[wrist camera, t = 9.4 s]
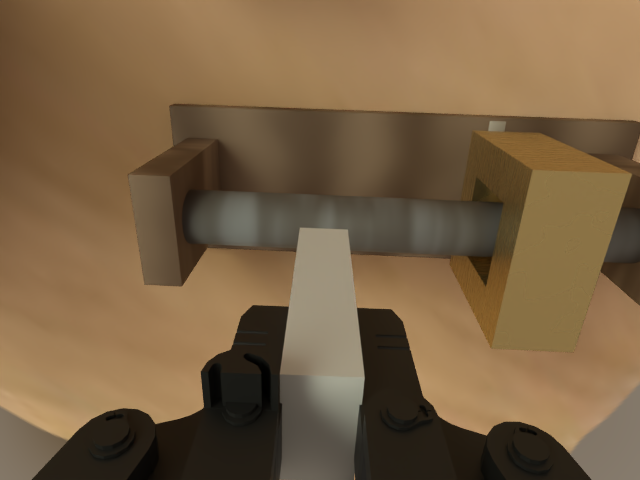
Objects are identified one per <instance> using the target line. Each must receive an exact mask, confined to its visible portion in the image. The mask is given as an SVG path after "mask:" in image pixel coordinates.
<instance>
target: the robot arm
mask: <svg viewBox="0 0 640 480" xmlns="http://www.w3.org/2000/svg"><path fill="white" fill-rule="evenodd" d="M201 379H202V390H203V400H204V408H203V409H202V410H200V411H198V412H196V413H194V414H192V415H190V416H187V417H184V418H181V419H177V420H172V421H168V422H163V423H159V424H155V423H154V422H153V420H152V419H151V417H150V416H149V415H148V414H146V413H144V412H142V411H140V410H138V409H125V408H123V409H118V410H113V411H108V412H106V413H104V414H102V415H99V416H97V417H95V418H93V419H91V420H90V421H89V422H88V423H86V424H85V425H84V426H83V427H81V428H80V429H79V430H78V431H77V432H76V433H75V434H74V435H73V436H72V437H71V438H70V439H69V441H68V442H67V443H66V444H65V445H64V446H63V447H62V448H61V449H60V450H59V451H58V452H57V453H56V455H55V456H54V457H53V458H52V459H51V460H50V461H49V462H48V463H47V464H46V465H45V466H44V467H43V468H42V469H41V470H40V471H39V472H38V474H37V475H36V476H35V477H34V478H33V479H32V480H354V474H355V480H591V479H590V477H589V476H588V475H587V474H586V473H585V472H584V471H583V469H582V468H581V467H580V466H579V465H578V463H577V462H576V461H575V460H574V459H573V458H572V456H571V455H570V454H569V453H568V452H567V451H566V449H565V448H564V447H563V446H562V445H561V444H560V443H559V442H557V441H556V440H555V439H554V438H553V437H552V436H551V435H549V434H548V433H546V432H544V431H542V430H540V429H539V428H537V427H535V426H532V425H528V424H525V423H521V422H503V423H501V424H498V425H496V426H494V427H493V428H492V429H491V431H490V432H489V433H488V435H487V436H486V435H482V434H479V433H476V432H473V431H469V430H466V429H463V428H460V427H457V426H455V425H452V424H450V423H448V422H447V421H445V420H443V419H442V418H440V417H439V416H438V415H437V413H436V411H435V409H434V407H433V406H432V405H431V404H430V403H429V402H428V401H427V400H426V399H425V398H424V397H423V395H422V391H421V388H420V384H419V380H418V376H417V373H416V369H415V365H414V362H413V358H412V354H411V351H410V347H409V343H408V339H407V338H406V332H405V328H404V325H403V322H402V320H401V319H400V318H399V317H398V316H397V315H396V314H395V313H394V312H393V311H392V310H391V309H368V308H357V306H356V297H355V288H354V279H353V271H352V262H351V253H350V244H349V236H348V230H346V229H322V228H300V230H299V237H298V245H297V252H296V259H295V267H294V274H293V281H292V289H291V296H290V303H289V307H284V306H259V305H253V306H252V307H251V308H250V309H248V310H247V311H246V312H245V313H244V314H243V315H242V316H241V319H240V322H239V325H238V329H237V333H236V335H235V339H234V342H233V345H232V348H231V350H229V351H226V352H223V353H220V354H218V355H216V356H215V357H214V358H212V359H211V360H209V361H208V362H207V363H206V365H205V366H204V368H203V369H202V371H201Z"/></svg>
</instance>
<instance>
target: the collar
mask: <svg viewBox="0 0 640 480" xmlns="http://www.w3.org/2000/svg"><path fill="white" fill-rule="evenodd" d="M631 176H632V174H631V173H629V172H627V171H625V170H622V169H620V168H618V167H616V166H613V165H611V164H609V163H607V162H604V161H602V160H600V159H598V158H595V157H593V156H591V155H589V154H586V153H584V152H582V151H580V150H577V149H575V148H573V147H571V146H568V145H566V144H564V143H562V142H559V141H557V140H555V139H553V138H550V137H548V136H546V135H544V134H541V133H527V132H500V131H474V130H472V136H471V142H470V148H469V153H468V159H467V165H466V171H465V177H464V183H463V189H462V195H461V201H482V202H503V203H504V204H503V209H502V214H501V219H500V223H499V228H498V233H497V237H496V242H495V247H494V252H493V256H492V257H477V256H455V255H451V260H450V266H451V268H452V270H453V272H454V274H455V276H456V278H457V280H458V282H459V284H460V286H461V289H462V291H463V293H464V295H465V297H466V299H467V301H468V303H469V305H470V307H471V309H472V311H473V313H474V315H475V317H476V319H477V321H478V323H479V325H480V327H481V329H482V331H483V333H484V335H485V337H486V339H487V341H488V343H489V345H490V347H491V348H493V349H513V350H533V351H553V352H573V353H574V350H575V346H576V343H577V340H578V337H579V334H580V331H581V328H582V325H583V322H584V319H585V316H586V313H587V310H588V307H589V304H590V301H591V298H592V295H593V292H594V289H595V286H596V283H597V280H598V276H599V273H600V270H601V267H602V264H603V261H604V258H605V255H606V252H607V249H608V246H609V243H610V240H611V237H612V234H613V231H614V228H615V225H616V222H617V219H618V216H619V213H620V210H621V207H622V203H623V200H624V197H625V194H626V191H627V188H628V185H629V182H630V179H631Z"/></svg>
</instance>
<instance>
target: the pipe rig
mask: <svg viewBox="0 0 640 480" xmlns="http://www.w3.org/2000/svg"><path fill="white" fill-rule="evenodd" d="M169 107H170V116H171V126H172V135H173V145H174V147H172V148H170V149H169V150H167V151H165V152H164V153H162V154H161V155H159V156H157V157H156V158H154V159H152V160H151V161H149V162H148V163H146V164H144V165H143V166H141V167H139V168H138V169H136V170H135V171H133V172H131V173H130V174H128V179H129V186H130V192H131V199H132V205H133V212H134V218H135V225H136V232H137V238H138V245H139V251H140V258H141V264H142V271H143V277H144V284H145V285H163V286H183V284H184V282H185V281H186V279H187V278H188V276H189V275H190V273H191V272H192V270H193V269H194V267H195V266H196V264H197V262H198V261H199V259H200V258H201V256H202V255H203V253H204V252H205V250H206V249H207V248H227V249H249V250H271V251H293V252H297V245H298V237H299V230H300V228H322V229H346V230H348V236H349V244H350V253H351V254H360V255H382V256H404V257H427V258H449V259H451V255H455V256H477V257H492V256H493V252H494V247H495V242H496V237H497V233H498V228H499V223H500V219H501V214H502V209H503V204H504V203H503V202H482V201H461V195H462V189H463V183H464V177H465V171H466V165H467V159H468V153H469V148H470V142H471V136H472V130H474V131H500V132H527V133H541V134H544V135H546V136H548V137H550V138H553V139H555V140H557V141H559V142H562V143H564V144H566V145H568V146H571V147H573V148H575V149H577V150H580V151H582V152H584V153H586V154H589V155H591V156H593V157H595V158H598V159H600V160H602V161H604V162H607V163H609V164H611V165H613V166H616V167H618V168H620V169H622V170H625V171H627V172H629V173H631V174H632V176H631V179H630V182H629V185H628V188H627V191H626V194H625V197H624V200H623V203H622V207H621V210H620V213H619V216H618V219H617V222H616V225H615V228H614V231H613V234H612V237H611V240H610V243H609V246H608V249H607V252H606V255H605V258H604V261H603V264H602V267H601V270H600V271H601V272H602V273H603V274H604V275H605V276H607V277H608V278H609V279H610V280H611V281H612V282H613V283H615V284H616V285H617V286H618V287H619V288H620V289H621V290H623V291H624V292H625V293H626V294H627V295H628V296H629V297H631V298H632V299H633V300H634V301H635V302H636V303H637V304H639V305H640V163H638V162H635V161H633V160H632V157H633V154H634V151H635V148H636V145H637V142H638V138H639V135H640V122H636V121H626V120H599V119H572V118H544V117H517V116H490V115H463V114H435V113H408V112H381V111H354V110H326V109H299V108H272V107H244V106H217V105H190V104H173V105H170V106H169Z"/></svg>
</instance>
